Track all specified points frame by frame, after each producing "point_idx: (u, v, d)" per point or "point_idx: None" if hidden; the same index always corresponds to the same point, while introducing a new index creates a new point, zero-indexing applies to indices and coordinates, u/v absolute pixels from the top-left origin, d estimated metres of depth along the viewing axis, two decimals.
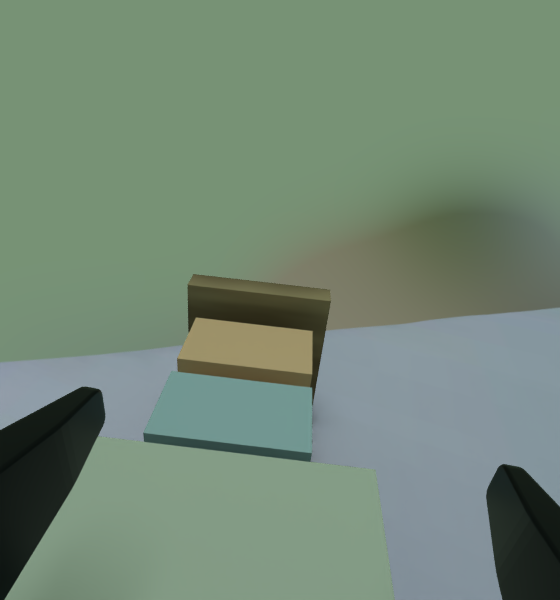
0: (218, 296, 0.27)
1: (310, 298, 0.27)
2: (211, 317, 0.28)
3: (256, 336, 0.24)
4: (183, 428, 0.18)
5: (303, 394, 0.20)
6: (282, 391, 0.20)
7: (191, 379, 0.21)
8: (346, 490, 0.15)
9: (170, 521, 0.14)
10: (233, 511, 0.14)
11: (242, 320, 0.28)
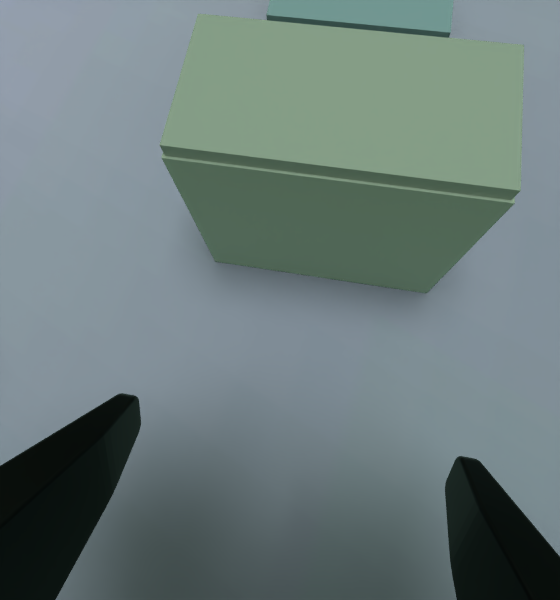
0: None
1: None
2: None
3: None
4: (307, 9, 0.16)
5: None
6: None
7: None
8: (487, 65, 0.15)
9: (310, 93, 0.15)
10: (369, 85, 0.15)
11: None
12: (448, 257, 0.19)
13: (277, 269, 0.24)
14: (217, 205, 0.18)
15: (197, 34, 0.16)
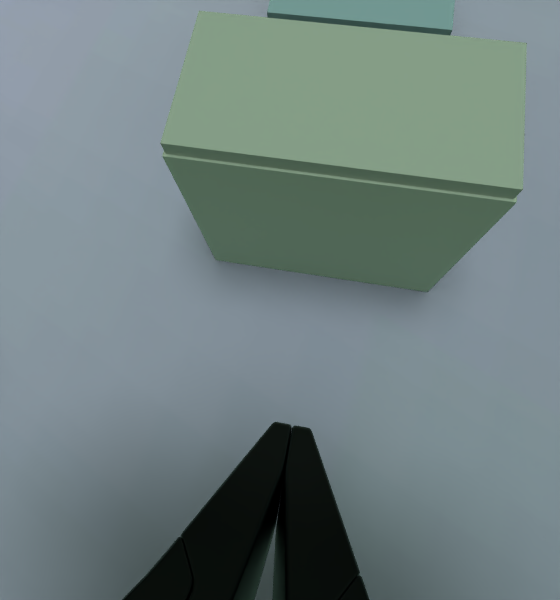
0: None
1: None
2: None
3: None
4: (309, 6, 0.16)
5: None
6: None
7: None
8: (490, 64, 0.15)
9: (312, 91, 0.15)
10: (371, 83, 0.15)
11: None
12: (449, 256, 0.19)
13: (278, 268, 0.24)
14: (218, 204, 0.18)
15: (198, 31, 0.16)
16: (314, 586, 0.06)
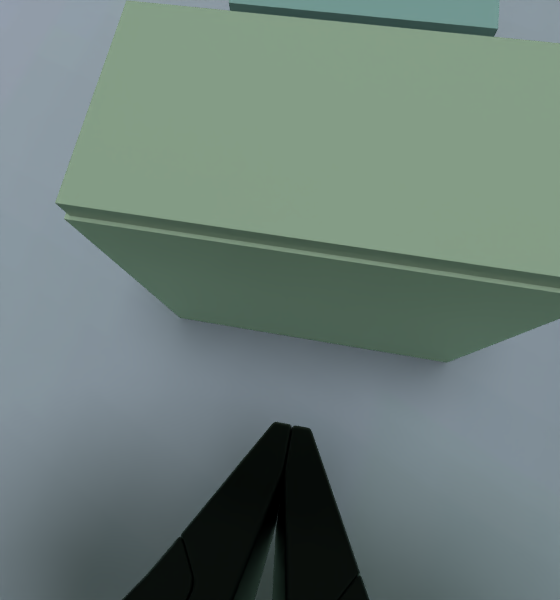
0: None
1: None
2: None
3: None
4: None
5: None
6: None
7: None
8: None
9: (289, 122, 0.10)
10: (379, 109, 0.10)
11: None
12: (484, 339, 0.14)
13: (257, 329, 0.19)
14: (163, 272, 0.13)
15: (123, 31, 0.11)
16: (314, 586, 0.06)
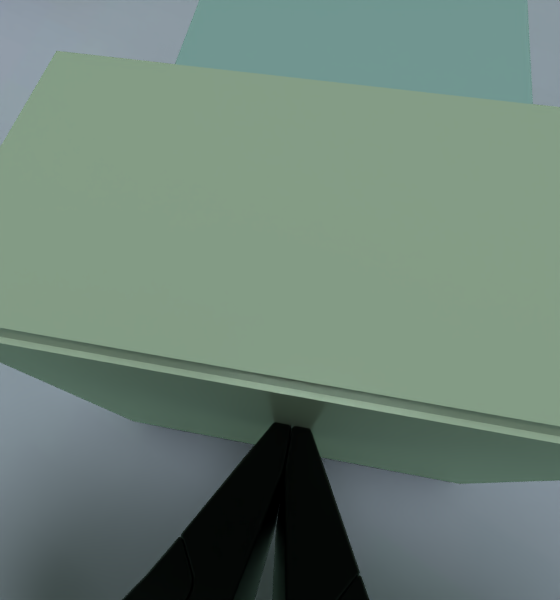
0: None
1: None
2: None
3: None
4: (253, 58, 0.09)
5: None
6: None
7: None
8: None
9: (253, 202, 0.07)
10: (377, 189, 0.07)
11: None
12: (516, 476, 0.10)
13: (226, 438, 0.15)
14: (91, 387, 0.09)
15: (46, 85, 0.08)
16: (314, 586, 0.06)
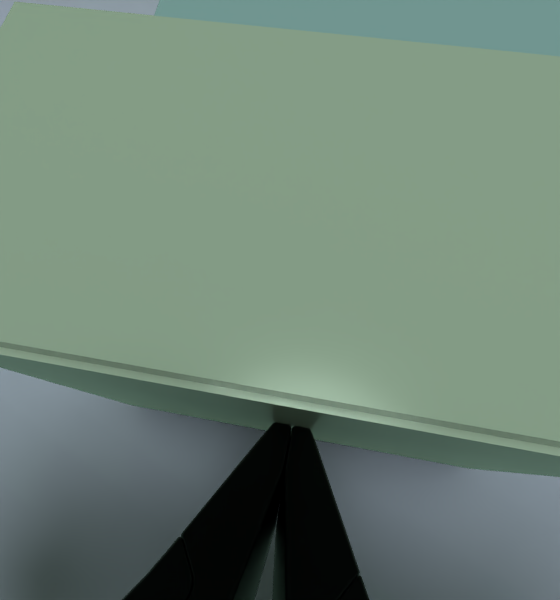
0: None
1: None
2: None
3: None
4: (242, 11, 0.07)
5: None
6: None
7: None
8: None
9: (243, 181, 0.06)
10: (387, 164, 0.06)
11: None
12: (532, 472, 0.10)
13: (227, 422, 0.15)
14: (75, 382, 0.09)
15: (3, 43, 0.07)
16: (314, 586, 0.06)
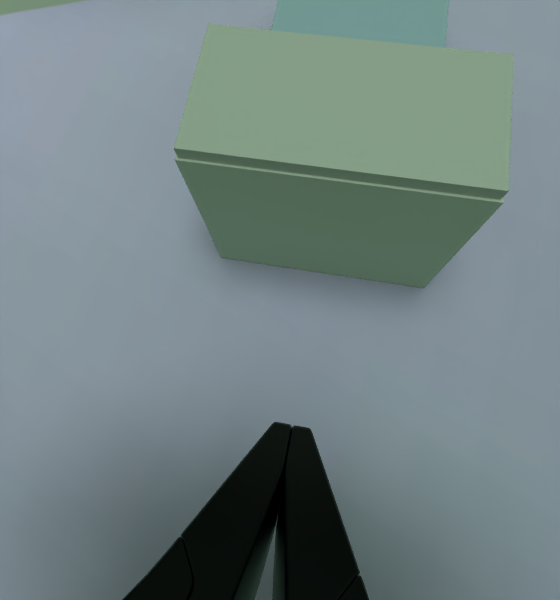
0: None
1: None
2: None
3: None
4: (308, 33, 0.17)
5: None
6: None
7: None
8: (479, 74, 0.16)
9: (314, 99, 0.16)
10: (369, 91, 0.16)
11: None
12: (443, 253, 0.20)
13: (281, 265, 0.25)
14: (225, 204, 0.19)
15: (207, 43, 0.17)
16: (314, 586, 0.06)
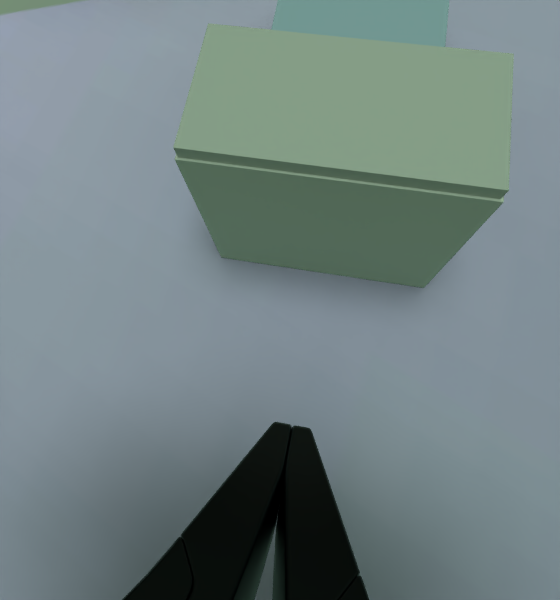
0: None
1: None
2: None
3: None
4: (308, 33, 0.17)
5: None
6: None
7: None
8: (479, 73, 0.16)
9: (314, 99, 0.16)
10: (369, 91, 0.16)
11: None
12: (443, 253, 0.20)
13: (281, 265, 0.25)
14: (225, 204, 0.19)
15: (207, 43, 0.17)
16: (314, 587, 0.06)
